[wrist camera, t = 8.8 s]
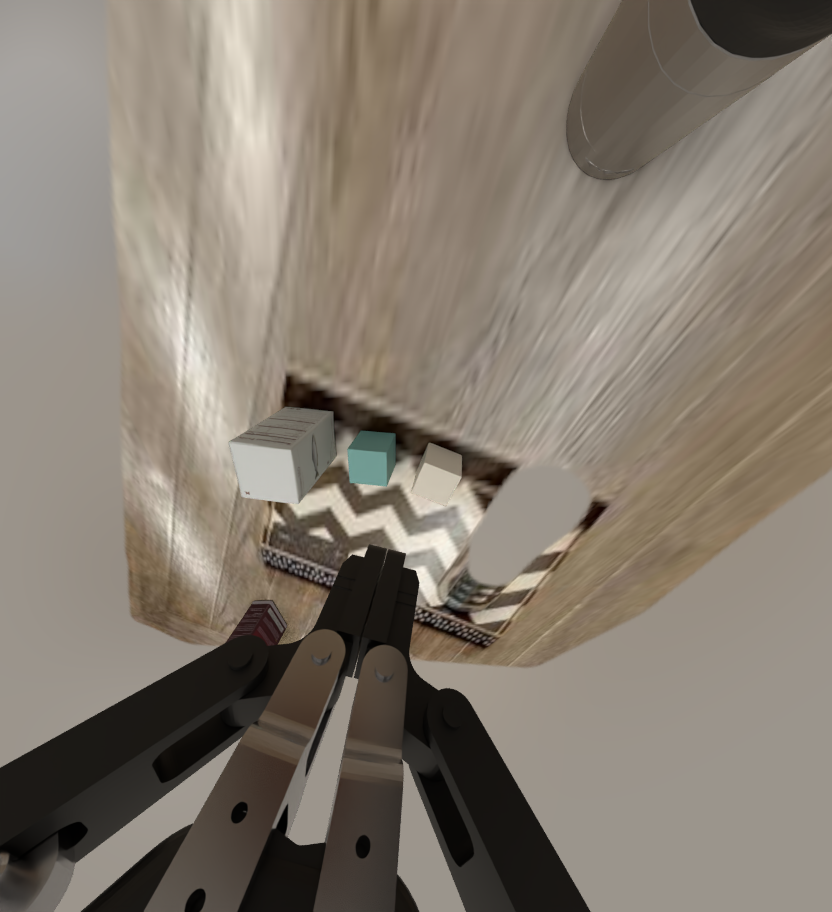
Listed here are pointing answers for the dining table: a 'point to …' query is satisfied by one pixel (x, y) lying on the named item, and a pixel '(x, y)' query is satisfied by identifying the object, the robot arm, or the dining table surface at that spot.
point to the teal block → (372, 458)
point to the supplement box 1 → (284, 454)
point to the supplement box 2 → (261, 623)
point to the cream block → (437, 474)
